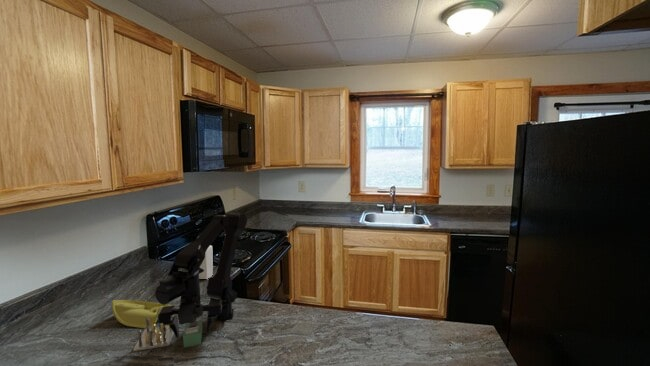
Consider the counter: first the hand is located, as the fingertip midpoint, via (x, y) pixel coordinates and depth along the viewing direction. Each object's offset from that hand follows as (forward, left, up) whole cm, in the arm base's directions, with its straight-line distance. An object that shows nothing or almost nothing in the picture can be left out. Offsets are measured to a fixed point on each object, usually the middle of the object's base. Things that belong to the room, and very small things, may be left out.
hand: (193, 335), depth 96 cm
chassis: (-4, -12, -1) cm, 13 cm away
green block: (0, 0, -2) cm, 2 cm away
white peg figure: (-52, -3, -2) cm, 52 cm away
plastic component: (-20, -21, -2) cm, 29 cm away
